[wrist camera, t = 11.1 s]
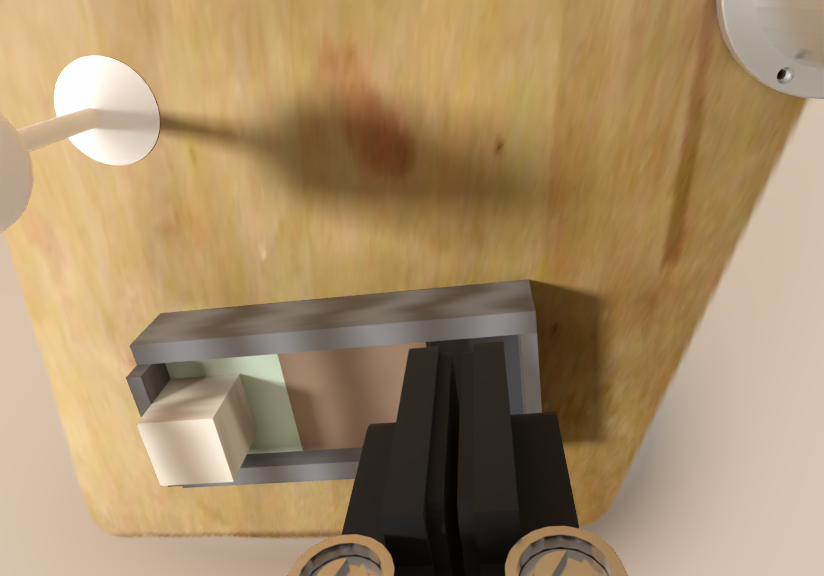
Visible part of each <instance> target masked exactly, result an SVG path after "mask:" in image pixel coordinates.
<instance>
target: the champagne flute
mask: <svg viewBox="0 0 824 576" xmlns="http://www.w3.org/2000/svg"><path fill="white" fill-rule="evenodd" d="M54 104H55V110H56V114H57V117H56V118H52V119H49V120H46V121H42V122H39V123H36V124H33V125H29V126H26V127H23V128H20V129H16V128H15V127H14V126H13V125H12V124H11V123H10V122H9V120H8V119H6V118H5V117H4V116H3V115H2V114H1V113H0V232H3V231H5V230H6V229H7V228H9V227H10V226H11V225H12V224H14V223H15V222H16V221H17V220H18V219H19V217H20V216H21V215H22V213H23V212H24V210H25V209H26V206H27V204H28V201H29V199H30V195H31V191H32V185H33V169H32V161H31V158H30V154H29V152H30V151H33V150H35V149H38V148H41V147H44V146H46V145H49V144H52V143H55V142H57V141H60V140H63V139H65V138H69V139H70V141H71V142H72V143H73V144H74V145H75V146H76V147H77V148H78V149H79V150H80V151H82V152H83V153H84V154H86V155H87V156H89V157H91V158H92V159H94V160H97V161H99V162H102V163H105V164H110V165H127V164H132V163H135V162H137V161H139V160H141V159H142V158H144V157H145V156H146V155H147V154H148V153H149V152H150V151H151V150H152V148H153V147H154V145H155V143H156V141H157V138H158V134H159V129H160V116H159V111H158V106H157V103H156V101H155V98H154V96H153V94H152V92H151V90H150V88H149V87H148V85H147V84H146V83H145V82H144V80H143V79H142V78H141V77H140V76H139V75H138V74H137V73H136V72H135V71H134V70H133V69H132V68H130V67H128V66H127V65H125V64H124V63H122V62H120V61H118V60H115V59H113V58H110V57H105V56H86V57H81V58H79V59H77V60H75V61H73V62H71V63H70V64H69V65H68V66H67V67H66V68H64V70H63V71H62V73H61V74H60V76H59V78H58V80H57V83H56V86H55V93H54Z"/></svg>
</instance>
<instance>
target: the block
mask: <svg viewBox="0 0 824 576" xmlns="http://www.w3.org/2000/svg"><path fill="white" fill-rule="evenodd" d="M137 427H138V429H139V432H140V434H141V437H142V439H143V442H144V444H145V447H146V449H147V452H148V454H149V457H150V459H151V462H152V465H153V467H154V470H155V472H156V475H157V477H158V480H159V482H160V485H161V486H168V485H186V484H204V483H222V482H234V480H235V478H236V476H237V474H238V472H239V470H240V467H241V465H242V463H243V461H244V459H245V457H246V455H247V453H248V451H249V449H250V446H251V444H252V442H253V440H254V438H255V436H256V434H257V431H256V427H255V424H254V421H253V417H252V414H251V411H250V407H249V404H248V401H247V397H246V394H245V391H244V387H243V384H242V381H241V377H240V374H228V375H216V376H203V377H190V378H178V379H170V381H169V382H168V383H167V385H166V386H165V387H164V388H163V390H162V391H161V392H160V394H159V395H158V396H157V398H156V399H155V400H154V402H153V403H152V404H151V405H150V407H149V408H148V409H147V411H146V412H145V413H144V415H143V416H142V417H141V419H140V420H139V421H138V422H137Z"/></svg>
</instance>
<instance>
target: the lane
mask: <svg viewBox="0 0 824 576" xmlns="http://www.w3.org/2000/svg"><path fill="white" fill-rule="evenodd" d="M497 341H503V342H504V352H505V362H506V372H507V383H508V393H509V403H510V413H511V415H514V414H529V413H542V404H541V389H540V373H539V357H538V341H537V325H536V311H535V306H534V301H533V297H532V292H531V287H530V283H529V280H521V281H510V282H499V283H488V284H477V285H466V286H456V287H445V288H434V289H423V290H412V291H401V292H390V293H379V294H368V295H357V296H347V297H336V298H325V299H314V300H303V301H292V302H281V303H270V304H259V305H248V306H238V307H227V308H216V309H205V310H194V311H183V312H172V313H161V314H159V315H158V317H157V318H156V319H155V320H154V321H153V322H152V323H151V324H150V325H149V326H148V327H147V328H146V329H145V330H144V331H143V332H142V333H141V334H140V335H139V336H138V337H137V339H136V340H135V341H134V342H133V343H132V344H131V345H130V348H131V350H132V353H133V356H134V358H135V361H136V364H137V366H136V367H135V368H134V369H133V370H132V372H131V373H130V374H129V375H128V376H127V377H126V379H127V382H128V384H129V387H130V390H131V392H132V395H133V397H134V400H135V403H136V405H137V408H138V410H139V413H140V416H141V417H142V416H143V415H144V413H145V412H146V411H147V409H148V408H149V407H150V405H151V404H152V403H153V402H154V400H155V399H156V398H157V396H158V395H159V394H160V392H161V391H162V390H163V388H164V387H165V386H166V385H167V383H168V382H169V381H170V379H178V378H190V377H203V376H216V375H228V374H240V377H241V381H242V384H243V387H244V391H245V394H246V397H247V401H248V404H249V407H250V411H251V414H252V417H253V421H254V424H255V427H256V431H257V434H256V436H255V438H254V440H253V442H252V444H251V446H250V449H249V451H248V453H247V455H246V457H245V459H244V461H243V463H242V465H241V467H240V470H239V472H238V474H237V476H236V478H235V480H234V482H222V483H204V484H186V485H168V487H171V486H182V487H183V488H190V487H209V486H228V485H246V484H265V483H284V482H303V481H322V480H341V479H355V477H356V473H357V469H358V465H359V461H360V456H361V452H362V448H363V444H364V440H365V435H366V432H367V429H368V426H369V425H370V424H377V423H392V422H396V420H397V414H398V408H399V403H400V397H401V391H402V386H403V380H404V374H405V369H406V363H407V357H408V352H409V349H412V348H424V347H436V346H440V348H441V352H442V354H449V353H452V354H453V358H454V365H455V373H456V380H457V387H458V394H459V402H460V384H461V353H462V352H473V343H485V342H497Z"/></svg>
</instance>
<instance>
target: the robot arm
mask: <svg viewBox="0 0 824 576" xmlns="http://www.w3.org/2000/svg"><path fill="white" fill-rule="evenodd" d="M716 5H717V17H718V22H719V25H720V29H721V32H722V35H723V39H724V41H725V43H726V45H727V47H728V49H729V50H730V52H731V54H732V56H733V58H734V59H735V60H736V61H737V62H738V64H739V65H740V66H741V67H742V68H743V69H744V70H745V71H746V72H747V74H749V75H750V76H752V77H753V78H755V79H756V80H757V81H759V82H760V83H762V84H763V85H765V86H767V87H770V88H772V89H775V90H777V91H780V92H782V93H786V94H790V95H794V96H798V97H802V98H818V99H824V0H716ZM780 70H782V76H781V77H780V78H777V74H778V72H779V71H780ZM287 576H628V575H627V572H626V570H625V568H624V566H623V564H622V562H621V560H620V558H619V557H618V555H617V554H616V552H615V551H614V549H613V548H612V547H611V546H610V545H608V544H607V543H606V542H605V541H603V540H602V539H601V538H600V537H598V536H596V535H594V534H592V533H590V532H588V531H585V530H583V529H579V524H578V519H577V514H576V509H575V504H574V499H573V494H572V489H571V484H570V479H569V474H568V469H567V464H566V459H565V454H564V449H563V444H562V439H561V434H560V429H559V424H558V419H557V415H556V412H544V413H529V414H514V415H511V413H510V403H509V393H508V383H507V372H506V362H505V352H504V342H503V341H497V342H485V343H473V352H462V353H461V384H460V402H459V394H458V387H457V380H456V373H455V365H454V358H453V354H452V353H449V354H442V352H441V348H440V346H436V347H424V348H412V349H409V352H408V357H407V363H406V369H405V374H404V380H403V386H402V391H401V397H400V403H399V408H398V414H397V420H396V422H392V423H377V424H370V425H369V426H368V429H367V432H366V435H365V440H364V444H363V448H362V452H361V456H360V461H359V465H358V469H357V473H356V477H355V481H354V486H353V490H352V494H351V498H350V502H349V507H348V511H347V515H346V519H345V523H344V527H343V532H342V535H339V536H336V537H332V538H329V539H325V540H323V541H322V542H320V543H318V544H316V545H315V546H313V547H311V548H310V549H308V550H307V551H306V552H305V553H304V554H303V555H302V556H301V557H299V558H298V560H297V561H296V562H295V564H294V566H293V567H292V568H291V570H290V572H289V573H288V575H287Z"/></svg>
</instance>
